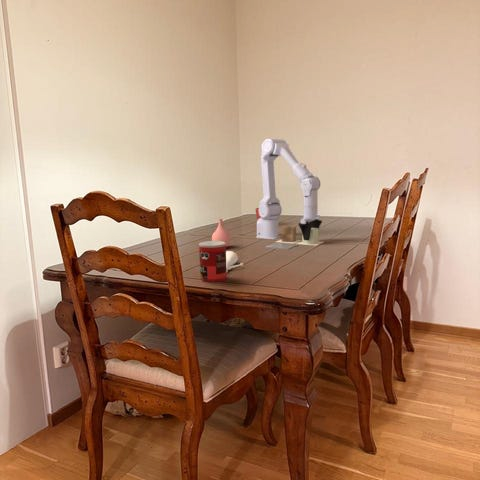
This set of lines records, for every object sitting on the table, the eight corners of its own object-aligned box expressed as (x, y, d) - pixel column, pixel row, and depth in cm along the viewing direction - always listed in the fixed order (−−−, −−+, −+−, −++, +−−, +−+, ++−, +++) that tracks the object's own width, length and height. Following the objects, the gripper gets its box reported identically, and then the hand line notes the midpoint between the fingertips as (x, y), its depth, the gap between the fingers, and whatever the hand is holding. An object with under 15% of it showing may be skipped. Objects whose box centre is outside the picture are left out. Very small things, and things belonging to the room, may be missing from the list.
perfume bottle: (212, 246, 182) (211, 217, 180) (230, 246, 182) (230, 217, 180) (211, 250, 175) (210, 220, 173) (230, 249, 175) (229, 219, 173)
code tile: (295, 244, 182) (295, 243, 182) (305, 240, 190) (305, 240, 190) (315, 246, 178) (315, 245, 178) (324, 242, 185) (324, 241, 185)
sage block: (302, 243, 183) (302, 229, 182) (307, 241, 187) (307, 227, 186) (313, 244, 180) (313, 229, 179) (318, 242, 184) (318, 228, 183)
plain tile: (274, 242, 188) (274, 241, 188) (284, 239, 195) (284, 238, 195) (293, 244, 183) (293, 243, 183) (302, 240, 190) (302, 240, 190)
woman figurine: (246, 249, 153) (241, 264, 136) (246, 261, 154) (241, 278, 137) (213, 249, 155) (204, 264, 137) (214, 261, 156) (204, 277, 138)
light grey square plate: (265, 248, 176) (265, 246, 176) (277, 243, 185) (277, 242, 184) (287, 250, 171) (287, 248, 171) (298, 245, 179) (298, 244, 179)
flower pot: (277, 225, 239) (277, 207, 237) (272, 228, 229) (272, 209, 227) (259, 224, 242) (258, 207, 240) (253, 227, 232) (252, 209, 230)
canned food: (200, 276, 135) (198, 241, 133) (226, 275, 136) (225, 240, 134) (200, 283, 128) (198, 245, 126) (227, 281, 128) (226, 244, 126)
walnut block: (281, 241, 188) (281, 227, 187) (285, 239, 192) (285, 226, 191) (292, 242, 186) (292, 228, 185) (296, 240, 190) (296, 226, 189)
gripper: (312, 208, 173) (311, 242, 175) (326, 205, 185) (326, 236, 187) (295, 207, 177) (296, 240, 179) (310, 204, 189) (310, 235, 191)
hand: (310, 238), depth 183 cm, fingers open, 7 cm apart
